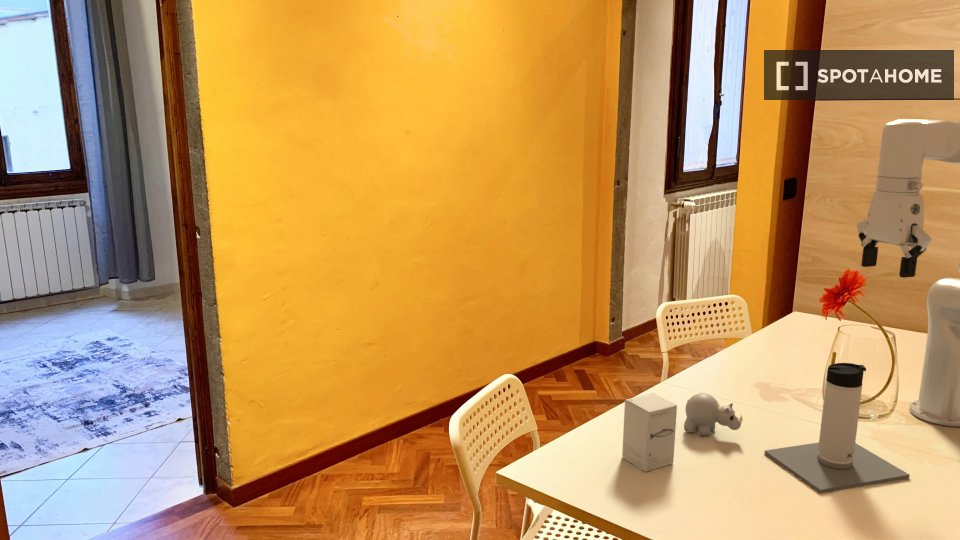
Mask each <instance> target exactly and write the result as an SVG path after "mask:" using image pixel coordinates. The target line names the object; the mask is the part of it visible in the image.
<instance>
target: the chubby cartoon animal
mask: <svg viewBox="0 0 960 540" xmlns="http://www.w3.org/2000/svg"><path fill="white" fill-rule="evenodd" d="M733 405H734V404H733V402H731V403H730V404H728V405H723V406H720V403H719V402H718V400H717V399H716V398H715V397H713V395H711V394H707V393H696V394H694V395H692V396H691V397H690V398H689V399H688V400H687V401H686V404H685V415H686V418H685V420H684V424H683V430H684V431H686V432H688V433H695V432H696V431H697V433H698V435H700V436H701V437H710V435H711V432H713V431H715V429H716V424H719V425H720V426H723V427H724V426H725V427H728V428H729V429H730V430H732V431H737V430H739V429H740V428H741V425H742V423H743V415H740V417H738V416H737V415H735V413H736V411H735V410H734V409H733Z"/></svg>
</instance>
